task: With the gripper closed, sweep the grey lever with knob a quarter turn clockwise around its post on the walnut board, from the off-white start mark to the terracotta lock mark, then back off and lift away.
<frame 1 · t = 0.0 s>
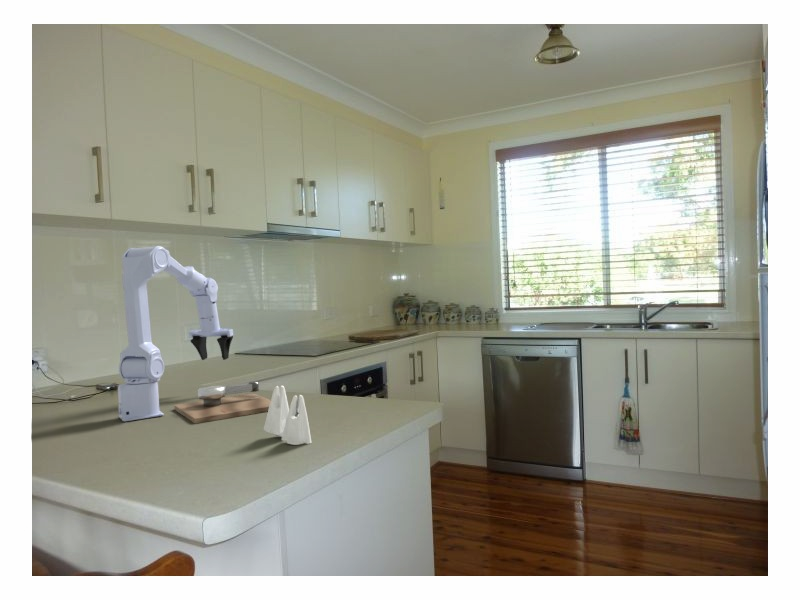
hand: (215, 358, 176), 11 cm above the worktop, fingers open, 7 cm apart
post board: (212, 409, 150), on the worktop
white slotted stand: (287, 441, 115), on the worktop
grey lever with knob: (229, 390, 153), point 4 cm above the worktop, hinge at 0.0°
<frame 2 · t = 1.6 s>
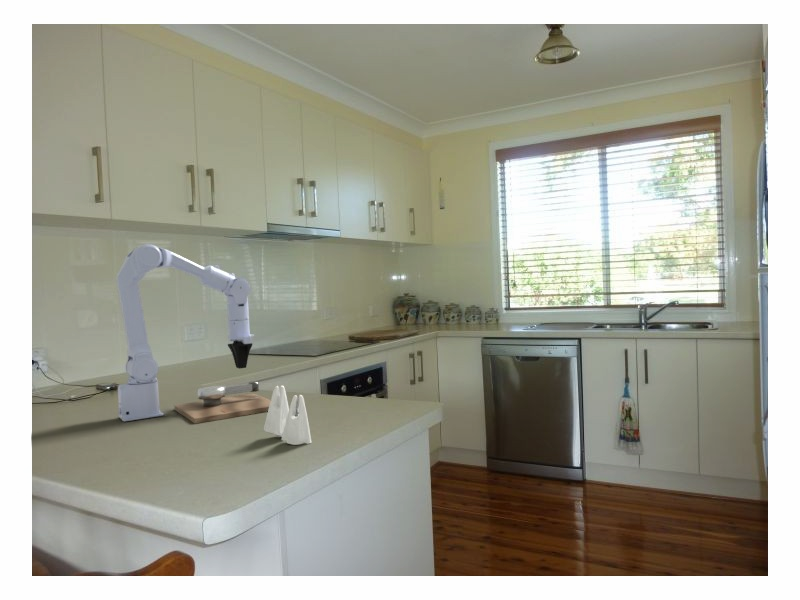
hand: (241, 367, 160), 9 cm above the worktop, fingers closed
nothing on the worktop moved.
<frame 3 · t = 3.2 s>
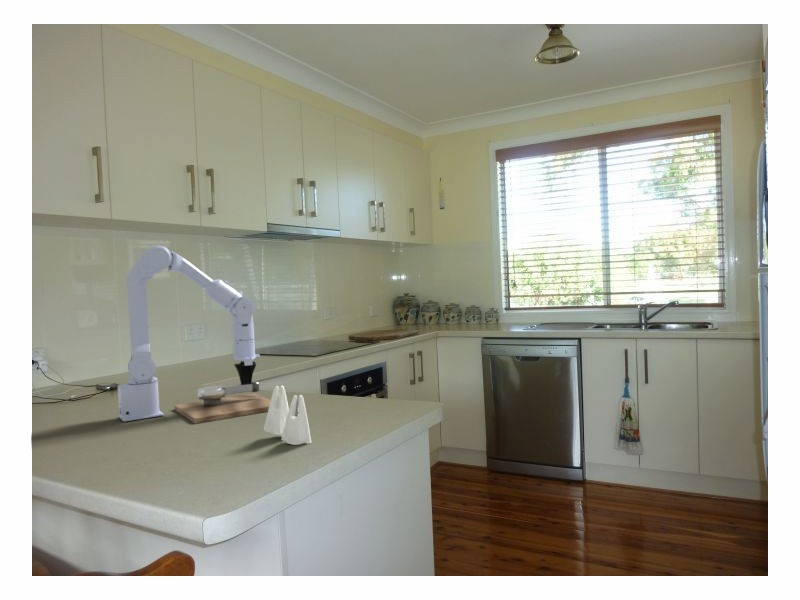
hand: (246, 388, 157), 4 cm above the worktop, fingers closed
grey lever with knob: (229, 390, 153), point 4 cm above the worktop, hinge at 2.2°, touching gripper
everything else where it was.
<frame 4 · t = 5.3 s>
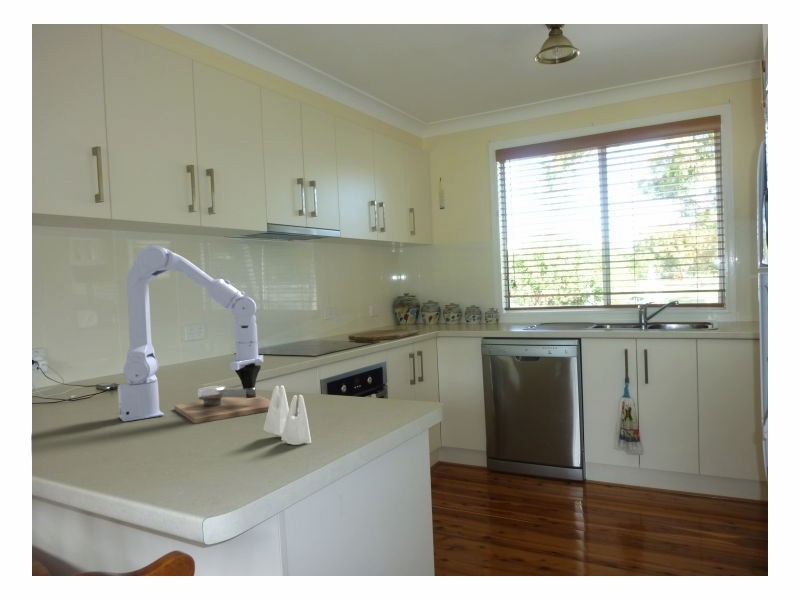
hand: (249, 393, 150), 4 cm above the worktop, fingers closed
grey lever with knob: (227, 392, 149), point 4 cm above the worktop, hinge at 48.2°, touching gripper
everything else where it was.
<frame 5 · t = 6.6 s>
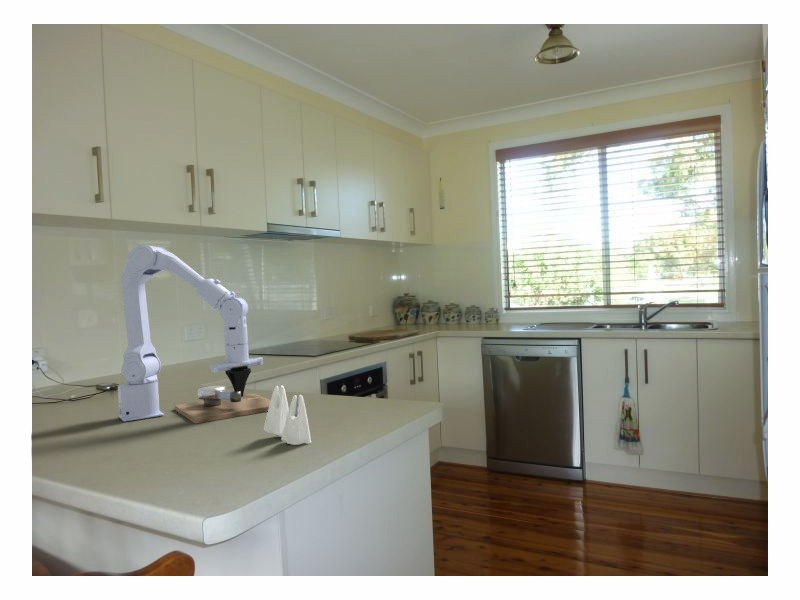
hand: (239, 396, 145), 4 cm above the worktop, fingers closed
grey lever with knob: (221, 394, 147), point 4 cm above the worktop, hinge at 75.5°, touching gripper
everything else where it was.
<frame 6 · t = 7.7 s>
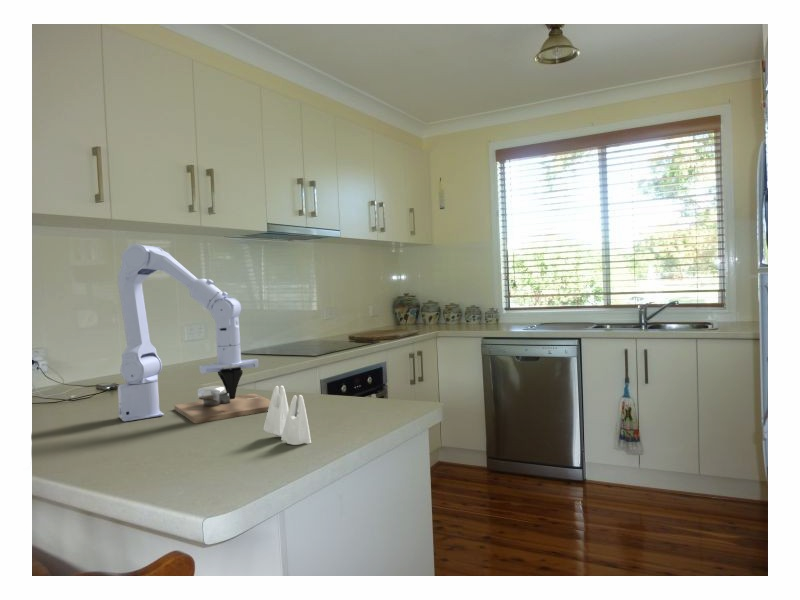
hand: (231, 398, 143), 4 cm above the worktop, fingers closed
grey lever with knob: (216, 394, 146), point 4 cm above the worktop, hinge at 90.0°, touching gripper
everything else where it was.
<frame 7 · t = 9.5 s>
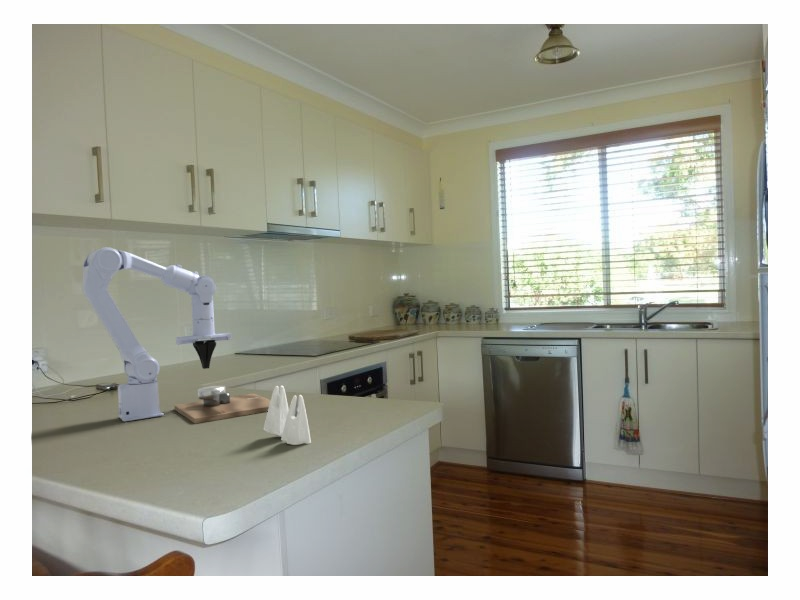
hand: (205, 368, 156), 10 cm above the worktop, fingers closed
grey lever with knob: (216, 394, 146), point 4 cm above the worktop, hinge at 90.0°
everything else where it was.
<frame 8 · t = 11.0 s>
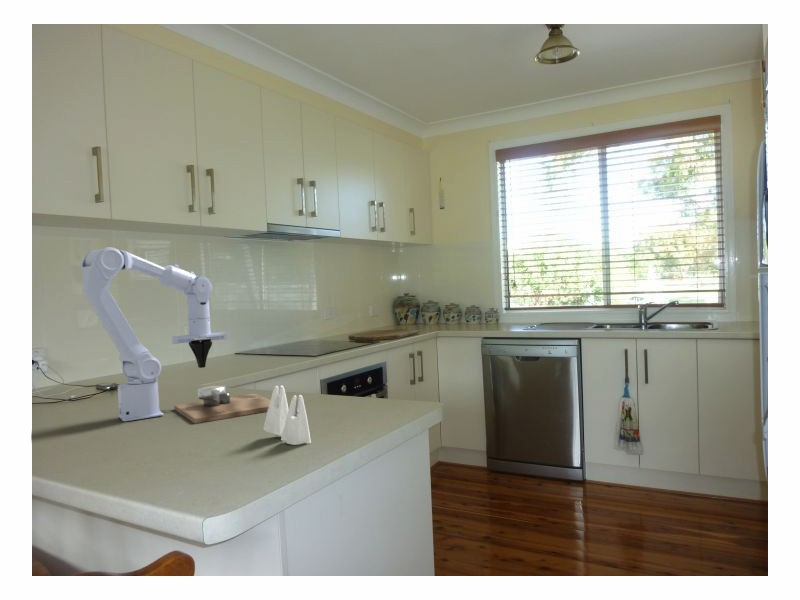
hand: (201, 367, 158), 10 cm above the worktop, fingers closed
nothing on the worktop moved.
at the end: grey lever with knob at +90° (first picture: +0°); the gripper is holding nothing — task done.
